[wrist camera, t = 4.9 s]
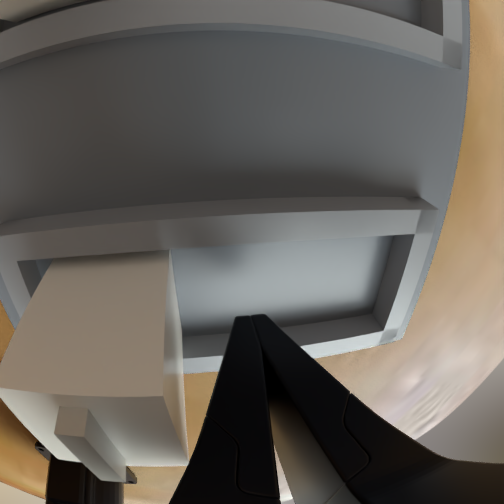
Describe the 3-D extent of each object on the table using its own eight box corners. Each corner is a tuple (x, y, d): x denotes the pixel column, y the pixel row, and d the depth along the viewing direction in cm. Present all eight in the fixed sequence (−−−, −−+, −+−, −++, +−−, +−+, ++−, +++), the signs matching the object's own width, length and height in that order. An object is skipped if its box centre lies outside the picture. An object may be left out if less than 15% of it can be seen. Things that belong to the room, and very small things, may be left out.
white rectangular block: (182, 330, 10) (191, 487, 6) (84, 334, 10) (55, 478, 5) (170, 245, 9) (163, 427, 4) (56, 254, 8) (-17, 410, 3)
